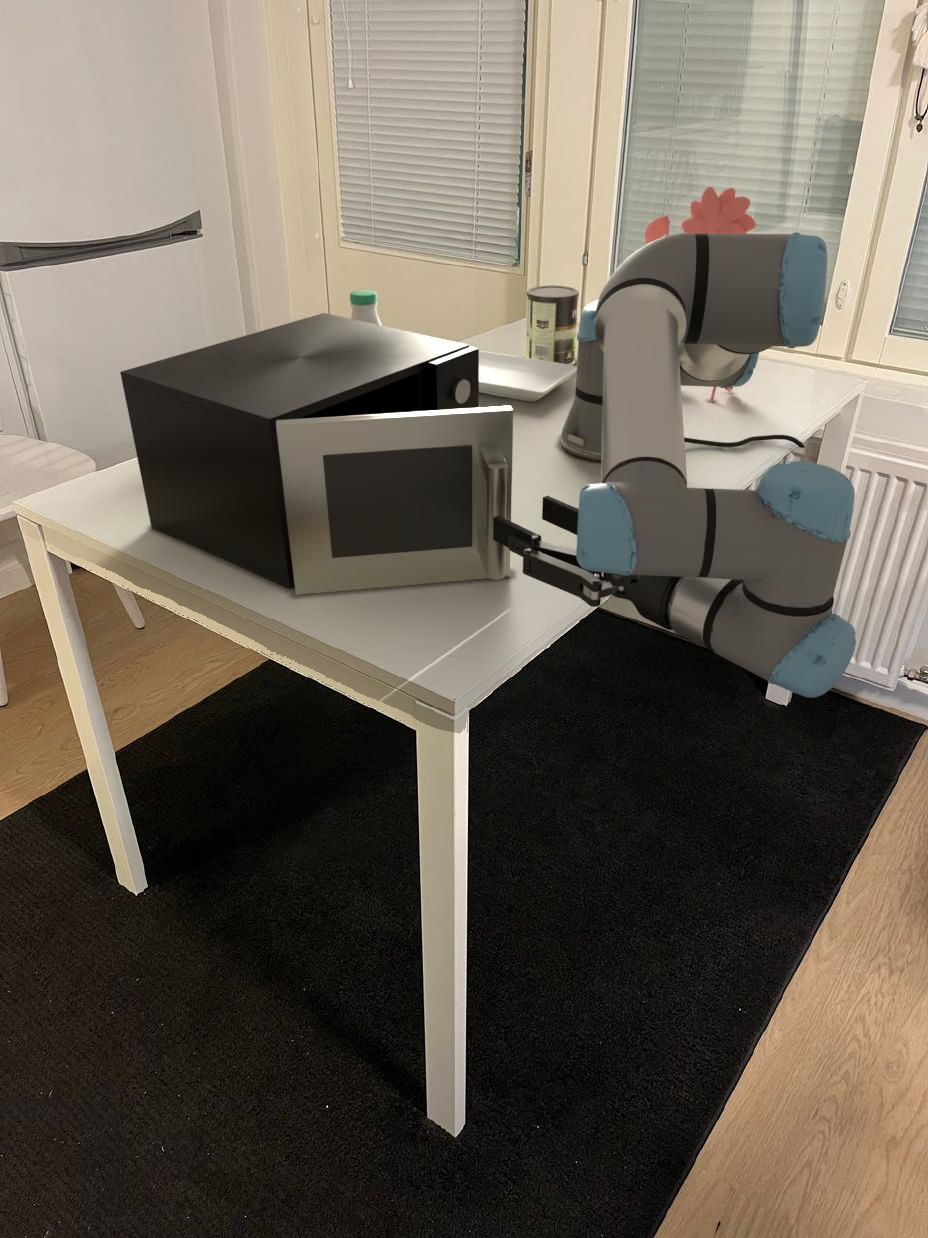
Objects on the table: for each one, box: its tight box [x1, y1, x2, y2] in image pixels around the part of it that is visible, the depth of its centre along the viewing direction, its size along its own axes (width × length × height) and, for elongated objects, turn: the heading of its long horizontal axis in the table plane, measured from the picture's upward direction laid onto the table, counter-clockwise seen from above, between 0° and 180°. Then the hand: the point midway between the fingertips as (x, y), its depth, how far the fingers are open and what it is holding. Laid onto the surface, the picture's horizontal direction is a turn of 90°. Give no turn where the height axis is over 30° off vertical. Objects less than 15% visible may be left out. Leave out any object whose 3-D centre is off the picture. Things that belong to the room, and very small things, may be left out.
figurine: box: [644, 186, 757, 407], centre depth 172 cm, size 15×26×35 cm, turn 60°
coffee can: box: [525, 285, 580, 366], centre depth 191 cm, size 10×10×14 cm
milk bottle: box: [349, 289, 383, 326], centre depth 168 cm, size 8×8×20 cm
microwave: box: [119, 312, 480, 591], centre depth 130 cm, size 30×36×22 cm
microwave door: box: [276, 405, 514, 596], centre depth 110 cm, size 9×27×22 cm, turn 99°
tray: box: [479, 349, 577, 403], centre depth 183 cm, size 17×31×4 cm, turn 60°
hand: (520, 517), depth 105 cm, fingers open, 7 cm apart
